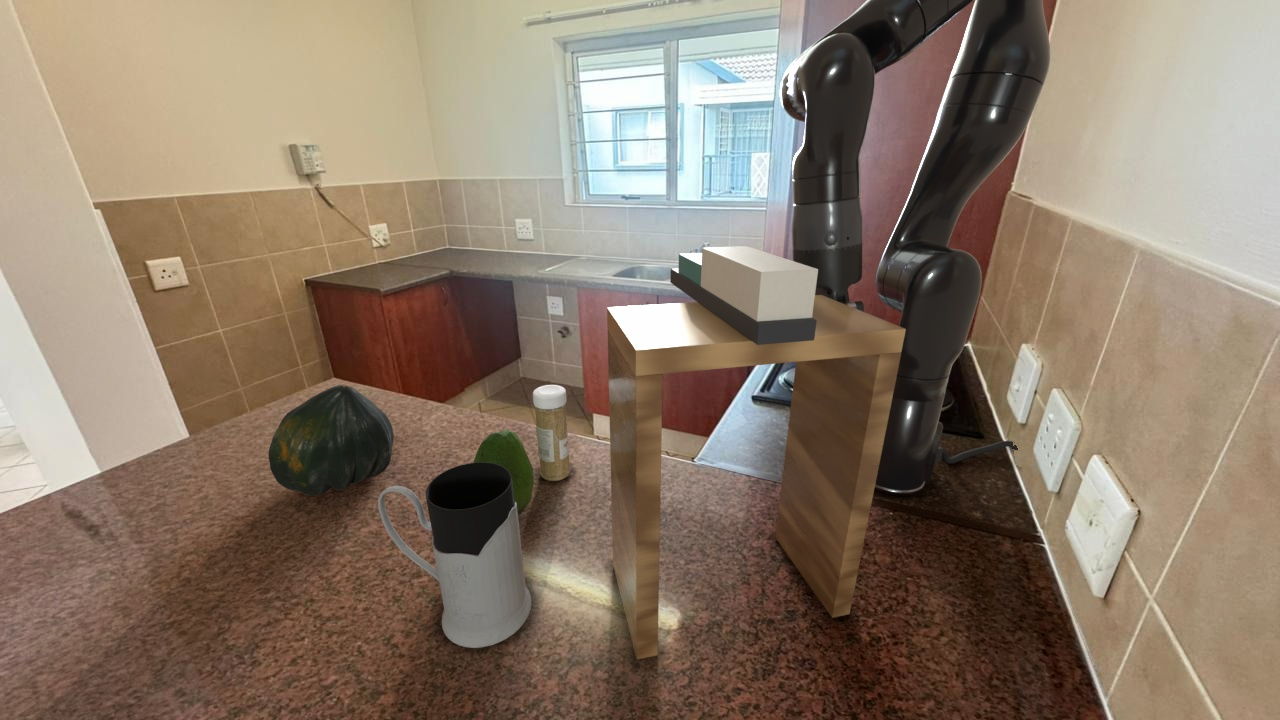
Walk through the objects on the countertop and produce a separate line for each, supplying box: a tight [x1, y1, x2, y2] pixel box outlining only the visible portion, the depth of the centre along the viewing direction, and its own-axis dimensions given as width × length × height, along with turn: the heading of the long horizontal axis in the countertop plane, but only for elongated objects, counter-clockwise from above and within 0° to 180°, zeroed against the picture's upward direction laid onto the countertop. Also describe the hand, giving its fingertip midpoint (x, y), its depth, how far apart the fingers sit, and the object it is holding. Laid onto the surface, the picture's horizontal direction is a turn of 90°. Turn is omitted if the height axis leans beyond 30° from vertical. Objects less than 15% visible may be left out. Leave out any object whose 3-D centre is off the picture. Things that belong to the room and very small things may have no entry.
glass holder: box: [377, 462, 533, 649], centre depth 49 cm, size 9×14×15 cm, turn 80°
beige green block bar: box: [669, 245, 818, 345], centre depth 45 cm, size 5×22×5 cm, turn 13°
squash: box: [268, 384, 395, 497], centre depth 70 cm, size 14×15×15 cm
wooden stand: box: [606, 295, 906, 660], centre depth 48 cm, size 22×12×30 cm, turn 103°
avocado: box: [472, 429, 535, 516], centre depth 63 cm, size 8×8×12 cm
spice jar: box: [532, 384, 572, 482], centre depth 71 cm, size 5×5×13 cm
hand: (828, 374), depth 62 cm, fingers open, 8 cm apart
